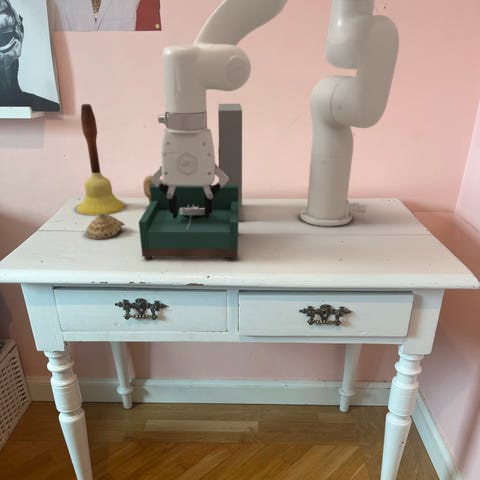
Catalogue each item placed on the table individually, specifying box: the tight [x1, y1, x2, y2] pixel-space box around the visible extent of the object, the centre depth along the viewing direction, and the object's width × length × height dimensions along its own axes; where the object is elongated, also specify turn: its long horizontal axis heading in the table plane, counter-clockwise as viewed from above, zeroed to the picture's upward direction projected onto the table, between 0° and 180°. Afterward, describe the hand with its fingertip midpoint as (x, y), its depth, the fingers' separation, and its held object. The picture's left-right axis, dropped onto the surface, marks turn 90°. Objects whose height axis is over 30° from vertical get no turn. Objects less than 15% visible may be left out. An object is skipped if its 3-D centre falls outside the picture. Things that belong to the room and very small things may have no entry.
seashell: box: [85, 214, 126, 240], centre depth 109 cm, size 8×6×8 cm
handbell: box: [76, 103, 126, 216], centre depth 120 cm, size 12×12×25 cm
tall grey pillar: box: [217, 103, 243, 222], centre depth 116 cm, size 14×6×25 cm, turn 2°
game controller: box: [180, 204, 205, 231], centre depth 98 cm, size 6×12×3 cm, turn 15°
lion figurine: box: [142, 175, 164, 204], centre depth 126 cm, size 15×5×9 cm, turn 162°
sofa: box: [138, 184, 240, 261], centre depth 100 cm, size 19×16×11 cm
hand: (191, 215), depth 98 cm, fingers open, 5 cm apart
